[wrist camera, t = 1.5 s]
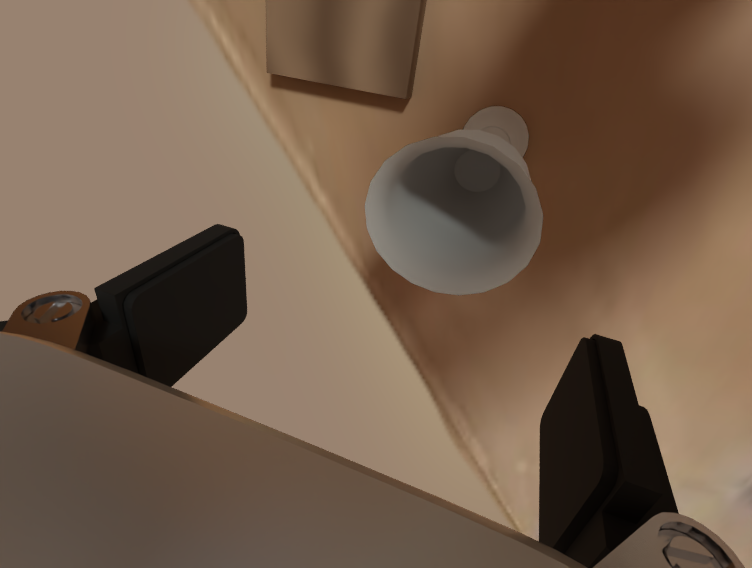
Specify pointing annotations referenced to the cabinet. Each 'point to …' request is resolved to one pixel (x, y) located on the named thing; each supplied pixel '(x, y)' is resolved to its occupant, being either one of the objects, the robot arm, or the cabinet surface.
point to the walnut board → (346, 42)
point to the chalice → (458, 206)
